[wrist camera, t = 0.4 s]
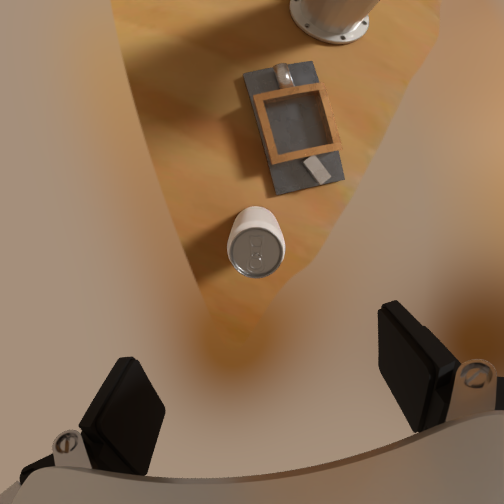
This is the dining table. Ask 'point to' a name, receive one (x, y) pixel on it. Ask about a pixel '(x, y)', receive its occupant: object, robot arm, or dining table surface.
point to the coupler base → (295, 126)
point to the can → (256, 243)
